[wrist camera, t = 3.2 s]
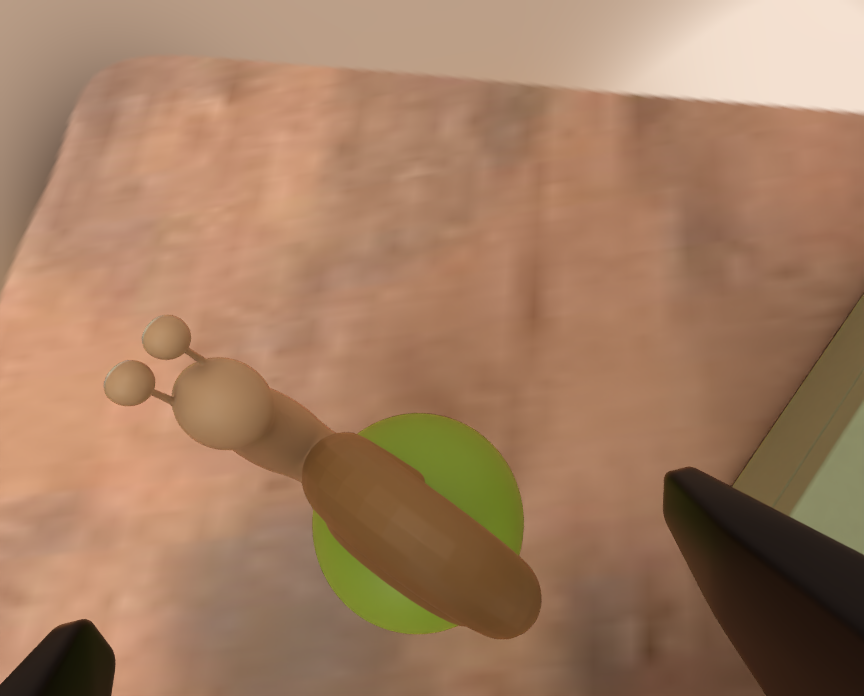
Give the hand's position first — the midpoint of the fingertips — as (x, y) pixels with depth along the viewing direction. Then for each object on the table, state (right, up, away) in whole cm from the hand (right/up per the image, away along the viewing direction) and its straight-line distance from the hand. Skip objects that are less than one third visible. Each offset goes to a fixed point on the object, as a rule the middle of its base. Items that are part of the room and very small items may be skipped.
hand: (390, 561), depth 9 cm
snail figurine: (0, -2, +9) cm, 9 cm away
